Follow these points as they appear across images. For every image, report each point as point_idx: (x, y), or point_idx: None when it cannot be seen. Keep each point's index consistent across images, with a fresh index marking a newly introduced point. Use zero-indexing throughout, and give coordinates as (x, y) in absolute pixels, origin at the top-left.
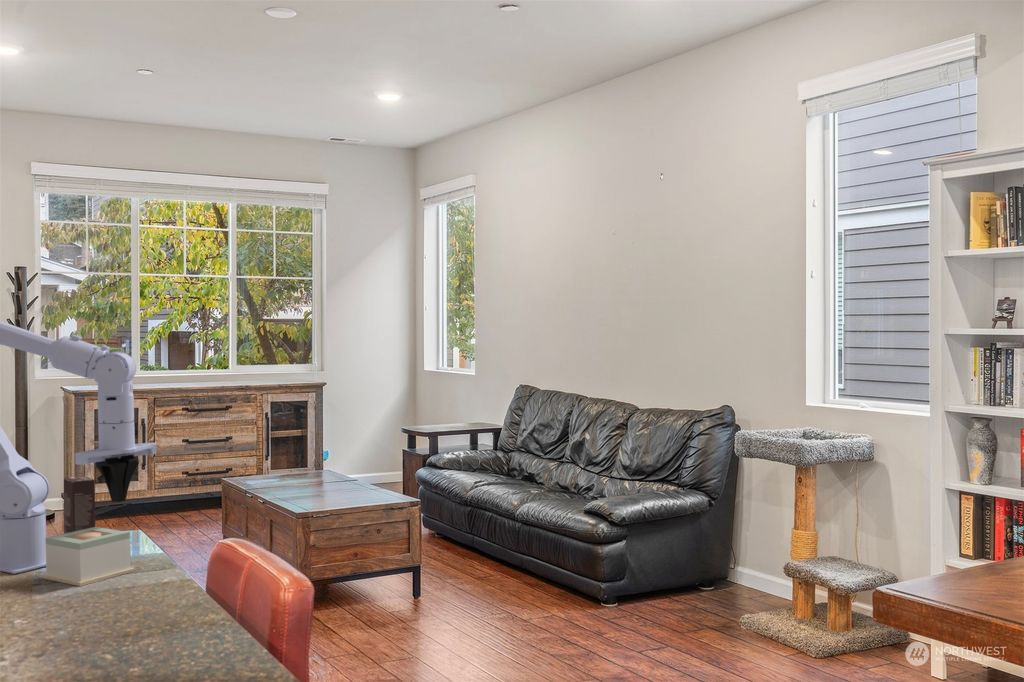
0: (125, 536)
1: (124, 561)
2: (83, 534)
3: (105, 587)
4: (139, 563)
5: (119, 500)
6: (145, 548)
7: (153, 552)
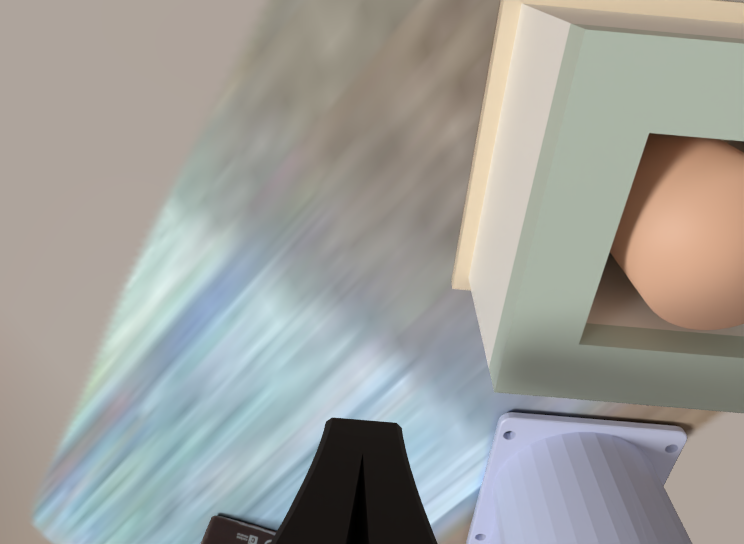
0: (617, 29)
1: (575, 11)
2: (714, 298)
3: None
4: (363, 106)
5: (396, 431)
6: (154, 306)
7: (178, 217)
